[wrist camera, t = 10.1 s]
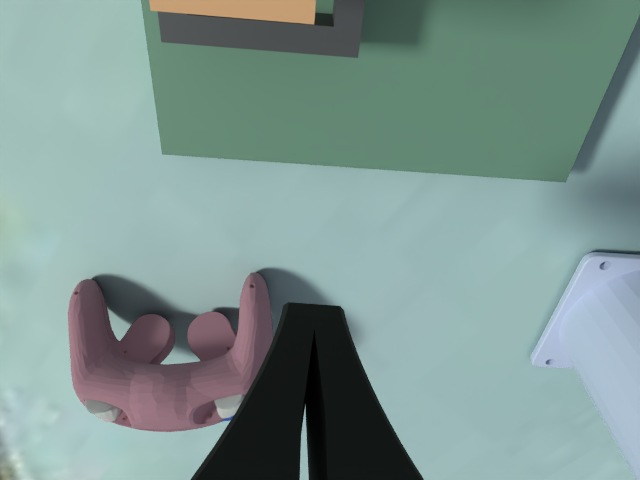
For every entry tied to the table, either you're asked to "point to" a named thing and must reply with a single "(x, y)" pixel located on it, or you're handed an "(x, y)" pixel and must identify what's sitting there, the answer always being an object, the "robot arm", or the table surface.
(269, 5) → the plug
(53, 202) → the table surface
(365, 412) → the robot arm
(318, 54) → the board
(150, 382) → the video game controller
